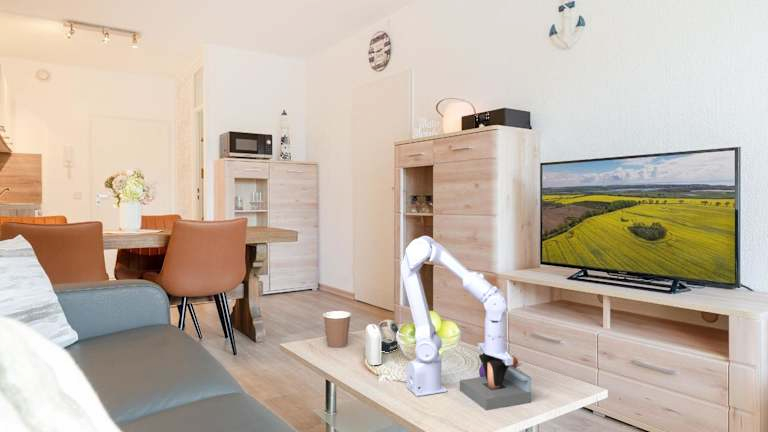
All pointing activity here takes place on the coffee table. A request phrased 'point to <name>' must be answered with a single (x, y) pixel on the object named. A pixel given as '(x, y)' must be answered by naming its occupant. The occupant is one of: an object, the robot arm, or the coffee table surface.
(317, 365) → the coffee table surface
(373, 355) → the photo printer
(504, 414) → the coffee table surface
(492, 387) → the peg
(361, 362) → the coffee table surface
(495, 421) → the coffee table surface
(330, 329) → the coffee cup
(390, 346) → the watch
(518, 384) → the socket
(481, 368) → the kendama
